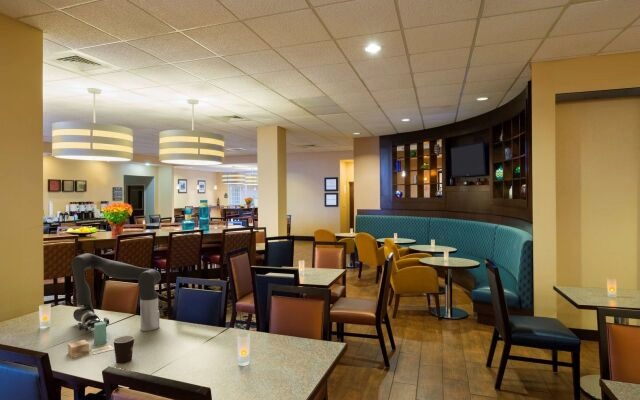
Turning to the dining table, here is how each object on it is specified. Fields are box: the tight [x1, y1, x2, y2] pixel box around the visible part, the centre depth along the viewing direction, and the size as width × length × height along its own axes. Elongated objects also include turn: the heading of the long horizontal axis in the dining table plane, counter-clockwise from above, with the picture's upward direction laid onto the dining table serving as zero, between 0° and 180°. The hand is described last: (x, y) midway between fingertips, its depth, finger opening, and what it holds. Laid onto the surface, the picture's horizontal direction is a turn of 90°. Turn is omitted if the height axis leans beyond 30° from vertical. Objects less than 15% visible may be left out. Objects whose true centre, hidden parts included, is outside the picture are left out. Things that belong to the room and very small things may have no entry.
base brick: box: [67, 339, 90, 359], centre depth 182 cm, size 7×7×5 cm
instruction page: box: [89, 344, 115, 355], centre depth 186 cm, size 9×7×1 cm
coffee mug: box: [112, 335, 135, 365], centre depth 175 cm, size 12×9×10 cm
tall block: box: [93, 322, 107, 346], centre depth 195 cm, size 4×4×10 cm
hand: (96, 327), depth 201 cm, fingers open, 8 cm apart
